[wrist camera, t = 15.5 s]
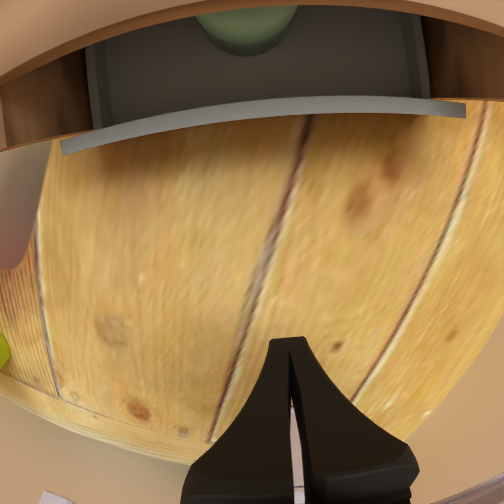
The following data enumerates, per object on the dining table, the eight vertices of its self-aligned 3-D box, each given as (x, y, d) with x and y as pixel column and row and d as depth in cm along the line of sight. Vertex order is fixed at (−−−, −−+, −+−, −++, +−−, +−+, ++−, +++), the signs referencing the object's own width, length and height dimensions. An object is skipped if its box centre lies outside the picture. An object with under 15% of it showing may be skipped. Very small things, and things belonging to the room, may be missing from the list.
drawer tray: (423, 114, 17) (466, 118, 12) (103, 144, 18) (62, 155, 14) (400, -32, 13) (432, -59, 8) (90, -1, 14) (52, -22, 9)
